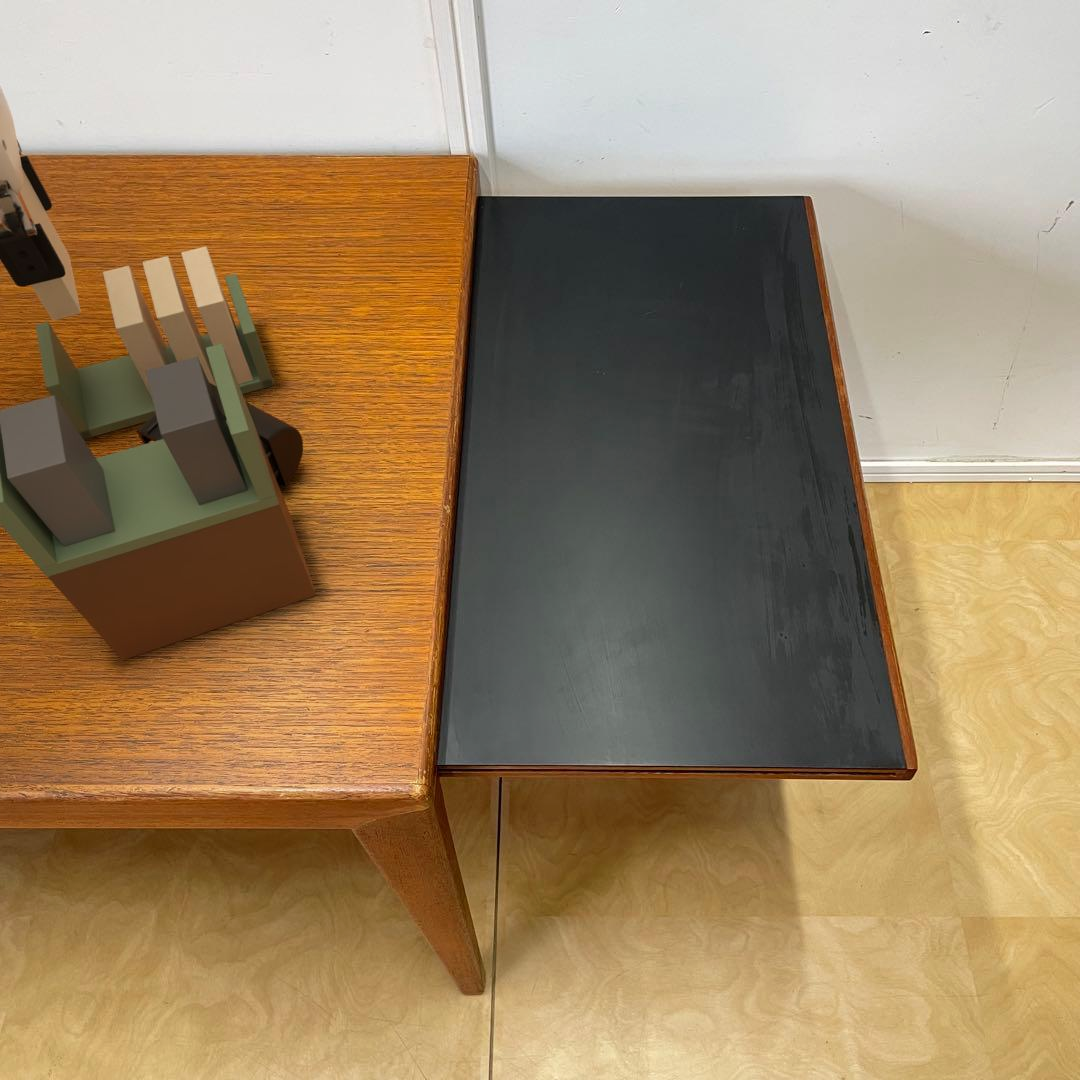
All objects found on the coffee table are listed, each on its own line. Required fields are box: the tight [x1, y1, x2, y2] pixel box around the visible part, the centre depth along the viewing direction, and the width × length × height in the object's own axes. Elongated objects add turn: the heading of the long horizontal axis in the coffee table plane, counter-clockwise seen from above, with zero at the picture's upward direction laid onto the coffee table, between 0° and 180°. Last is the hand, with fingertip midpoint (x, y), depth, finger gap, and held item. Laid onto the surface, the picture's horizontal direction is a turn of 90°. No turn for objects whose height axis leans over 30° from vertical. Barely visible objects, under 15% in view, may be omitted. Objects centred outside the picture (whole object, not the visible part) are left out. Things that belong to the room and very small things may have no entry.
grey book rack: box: [0, 344, 317, 661], centre depth 59 cm, size 14×7×20 cm, turn 112°
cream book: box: [0, 169, 82, 322], centre depth 63 cm, size 2×6×9 cm, turn 22°
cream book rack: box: [35, 245, 275, 441], centre depth 74 cm, size 16×7×10 cm, turn 112°
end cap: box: [136, 383, 304, 492], centre depth 71 cm, size 10×7×7 cm
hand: (35, 243), depth 64 cm, fingers closed on cream book, 6 cm apart
